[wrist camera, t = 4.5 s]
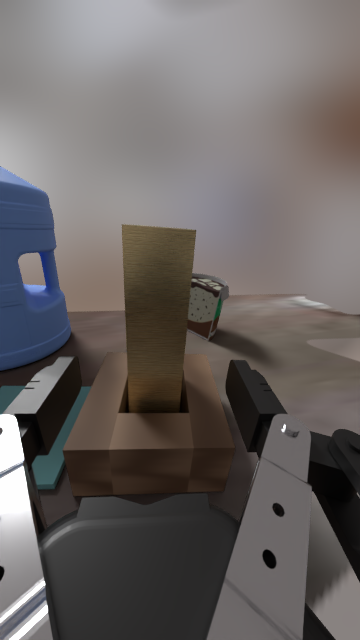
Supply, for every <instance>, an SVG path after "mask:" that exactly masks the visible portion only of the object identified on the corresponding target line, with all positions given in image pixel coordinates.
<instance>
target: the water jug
mask: <svg viewBox="0 0 360 640" xmlns="http://www.w3.org/2000/svg"><path fill="white" fill-rule="evenodd" d="M55 248H56V241H55V234H54V220H53V214H52V211H51V208H50V204H49V198H48V196H47V194H46V193H45V192H44V191H42V190H41V189H39V188H37V187H35V186H34V185H32V184H30V183H28V182H27V181H25V180H23V179H22V178H20V177H18V176H16V175H15V174H13V173H11V172H9V171H8V170H6V169H4V168H2V167H1V166H0V371H1V370H7V369H12V368H16V367H20V366H23V365H26V364H29V363H32V362H35V361H37V360H40V359H42V358H44V357H46V356H48V355H50V354H52V353H53V352H55V351H56V350H58V349H59V348H61V347H62V346H63V345H64V344H65V343H66V342H67V340H68V339H69V337H70V334H71V327H70V321H69V319H68V315H67V309H66V303H65V296H64V293H63V292H62V291H61V290H60V287H59V281H58V276H57V270H56V263H55V257H54V249H55ZM36 252H38V253H39V254H40V256H41V261H42V267H43V272H44V277H45V282H46V286H41V285H25V284H23V282H22V277H21V273H20V269H19V265H18V259H19V257H20V256H21V255H23V254H25V253H36Z"/></svg>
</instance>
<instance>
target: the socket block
mask: <svg viewBox="0 0 360 640" xmlns="http://www.w3.org/2000/svg"><path fill="white" fill-rule="evenodd" d="M180 410H181V413H129V396H128V370H127V353H119V352H107V354H106V356H105V358H104V360H103V363H102V365H101V367H100V369H99V371H98V374H97V376H96V378H95V380H94V382H93V384H92V387H91V389H90V391H89V393H88V395H87V398H86V400H85V402H84V404H83V406H82V408H81V411H80V413H79V415H78V417H77V419H76V422H75V424H74V426H73V428H72V430H71V433H70V435H69V437H68V439H67V441H66V443H65V446H64V448H63V450H62V451H63V455H64V459H65V463H66V468H67V472H68V476H69V480H70V484H71V488H72V493H73V496H98V495H127V494H156V493H185V492H215V491H224V489H225V485H226V481H227V477H228V474H229V470H230V466H231V462H232V459H233V455H234V451H235V444H234V441H233V438H232V435H231V432H230V429H229V425H228V422H227V419H226V416H225V413H224V410H223V407H222V403H221V400H220V397H219V394H218V391H217V388H216V384H215V381H214V378H213V375H212V372H211V369H210V365H209V362H208V359H207V356H206V355H202V354H185V355H184V365H183V376H182V387H181V397H180Z"/></svg>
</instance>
